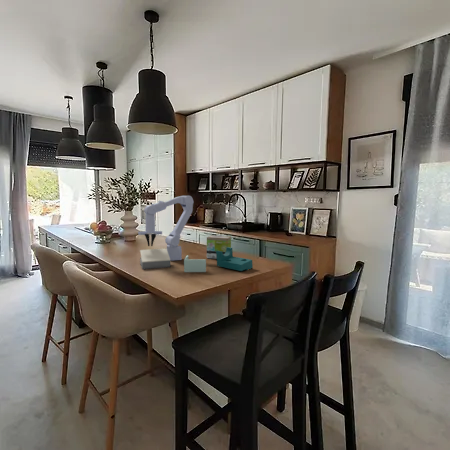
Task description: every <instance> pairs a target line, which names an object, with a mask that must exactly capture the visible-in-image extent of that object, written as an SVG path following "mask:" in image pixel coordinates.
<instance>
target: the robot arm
mask: <svg viewBox="0 0 450 450" xmlns="http://www.w3.org/2000/svg"><path fill="white" fill-rule="evenodd" d="M194 202H195V201H194V199H193V197H192V196H191V195H180V196H179V195H178V196H176V197H173V198H171V199H169V200H166V201H164V200H158V201H157V202H156V203H151V205H146V206H145V207H144V209H143V211H144V213H145V231H137V234H138V236H141V235H142V236H145V239H146V243H147V246H148V247H150V246H151V247H153V245H154V242H155V238H156V237H157V236H156V235H163V231H161V230H158V231H157V230H156V216H155V215H156V213H158V212H162V211H164V210H166V209H167V207H170V206H173V205H175V204H180V206H181V207H182V210H183V211H182V214H181V215H180V217H179V219H178V221H177V222H176V224H175V226H174V228H173V229H172V231H171V232H169V234H168V235H167V236H166V237H165V238H164V239H165V240H164V241H165V243H166V249H167V251H168V254H169V257H170V262H171V261H182V260H183V259H182V246H181V245H179V244H180V240H181V233H182V232H183V230H184V228H185V226H186V224H187V223H188V220H189V219H190V217H191V215H192V214H193V210H194V208H193V207H194ZM150 236H151V237H150ZM150 240H151V241H150Z"/></svg>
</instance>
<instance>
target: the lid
mask: <svg viewBox="0 0 450 450" xmlns="http://www.w3.org/2000/svg"><path fill="white" fill-rule="evenodd" d="M139 253H140V258H141V259H142V262H155V261H168V260H170V257H169V254H168V251H167V247H166V248H152V249H151V248H150V249H139Z"/></svg>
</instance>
